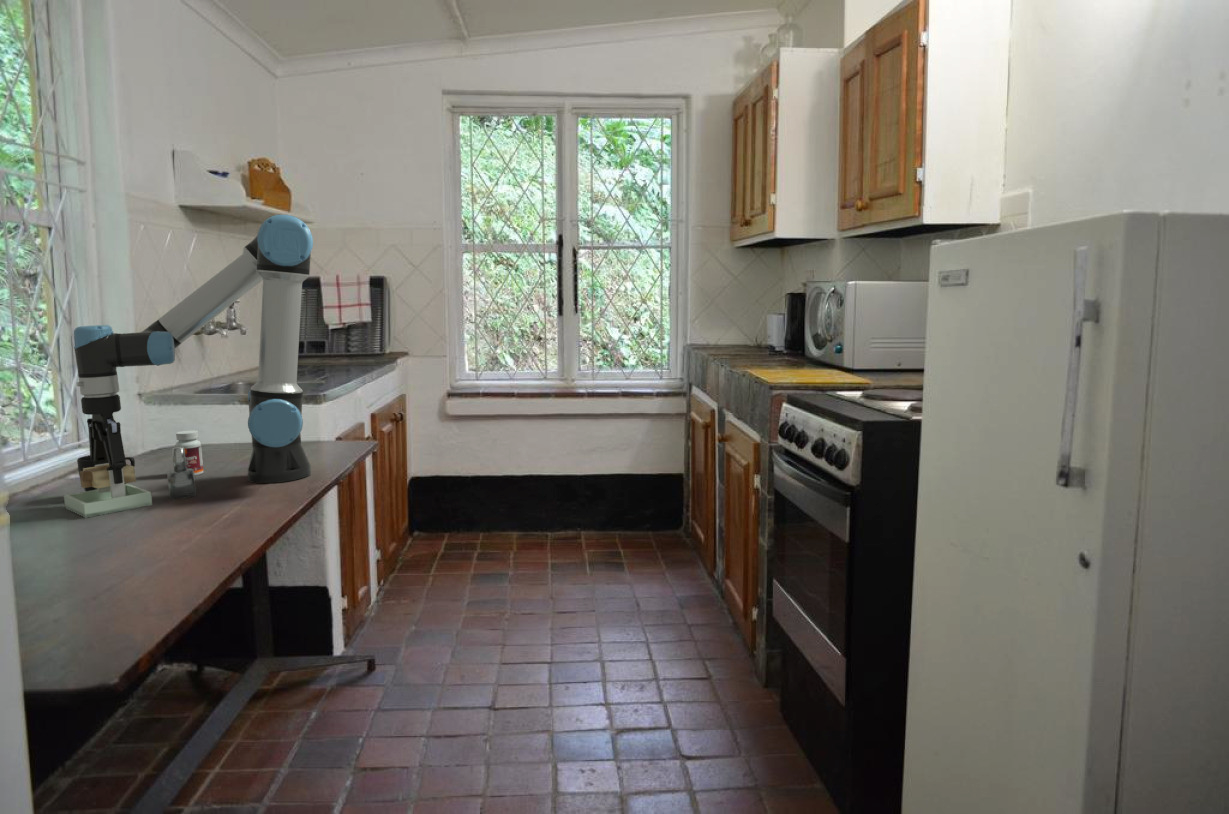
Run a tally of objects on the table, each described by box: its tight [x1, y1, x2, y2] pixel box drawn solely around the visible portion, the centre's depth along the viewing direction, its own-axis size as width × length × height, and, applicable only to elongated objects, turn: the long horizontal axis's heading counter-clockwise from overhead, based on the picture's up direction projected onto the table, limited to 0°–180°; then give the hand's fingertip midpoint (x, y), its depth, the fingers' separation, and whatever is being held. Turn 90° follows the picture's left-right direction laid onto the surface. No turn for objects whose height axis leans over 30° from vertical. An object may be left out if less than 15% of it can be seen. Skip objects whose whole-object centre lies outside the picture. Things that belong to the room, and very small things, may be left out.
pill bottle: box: [174, 429, 204, 477], centre depth 231 cm, size 6×6×11 cm
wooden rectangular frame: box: [78, 463, 137, 489], centre depth 199 cm, size 10×8×4 cm
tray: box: [63, 483, 153, 519], centre depth 199 cm, size 14×14×3 cm
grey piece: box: [166, 447, 197, 500], centre depth 207 cm, size 6×6×12 cm
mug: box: [76, 454, 136, 492], centre depth 210 cm, size 8×12×10 cm
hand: (111, 494), depth 200 cm, fingers closed on wooden rectangular frame, 8 cm apart
